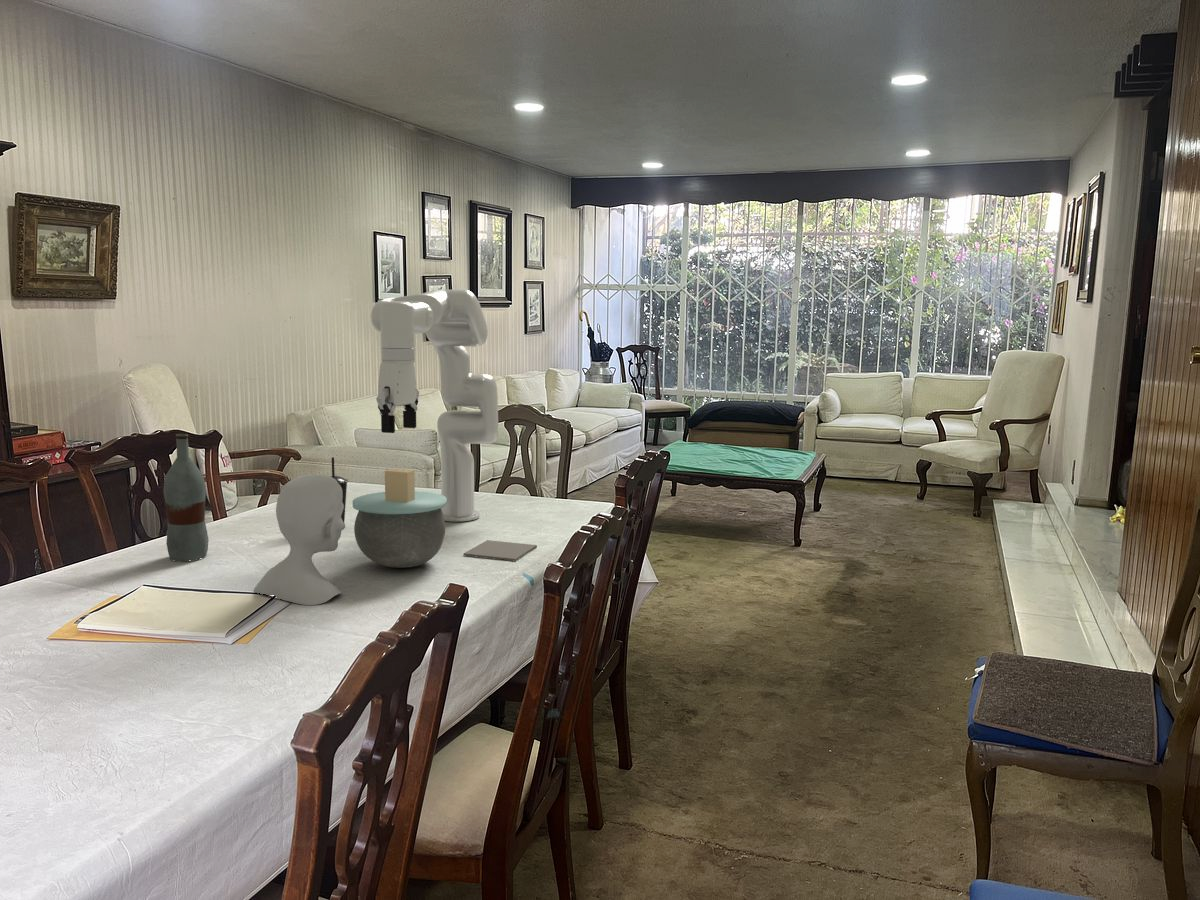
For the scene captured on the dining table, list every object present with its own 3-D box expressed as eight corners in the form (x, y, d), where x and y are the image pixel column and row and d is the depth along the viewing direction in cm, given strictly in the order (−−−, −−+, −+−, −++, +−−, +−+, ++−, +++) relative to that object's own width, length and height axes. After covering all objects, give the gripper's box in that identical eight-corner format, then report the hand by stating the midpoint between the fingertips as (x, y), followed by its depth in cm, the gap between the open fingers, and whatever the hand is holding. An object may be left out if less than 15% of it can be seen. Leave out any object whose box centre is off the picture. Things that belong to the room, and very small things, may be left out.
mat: (463, 555, 220) (463, 553, 220) (487, 542, 233) (487, 540, 233) (515, 561, 216) (515, 558, 216) (536, 547, 229) (536, 545, 229)
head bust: (380, 585, 195) (378, 473, 191) (312, 609, 179) (308, 487, 175) (312, 569, 206) (308, 463, 202) (241, 590, 190) (236, 476, 186)
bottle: (158, 559, 213) (151, 435, 208) (191, 550, 221) (185, 430, 216) (184, 564, 208) (177, 438, 204) (217, 555, 216) (211, 433, 212)
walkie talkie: (353, 526, 248) (351, 455, 245) (343, 532, 240) (340, 460, 237) (327, 525, 249) (324, 454, 246) (315, 531, 241) (313, 459, 238)
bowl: (425, 581, 198) (424, 516, 196) (338, 574, 202) (337, 510, 200) (458, 557, 219) (458, 497, 217) (379, 551, 223) (378, 492, 221)
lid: (333, 509, 202) (332, 475, 200) (384, 492, 222) (383, 460, 221) (418, 517, 195) (417, 481, 194) (462, 498, 215) (462, 466, 214)
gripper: (402, 354, 213) (403, 425, 215) (362, 357, 196) (364, 433, 199) (430, 355, 210) (431, 426, 213) (392, 358, 194) (394, 435, 197)
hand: (399, 430), depth 206 cm, fingers open, 9 cm apart
